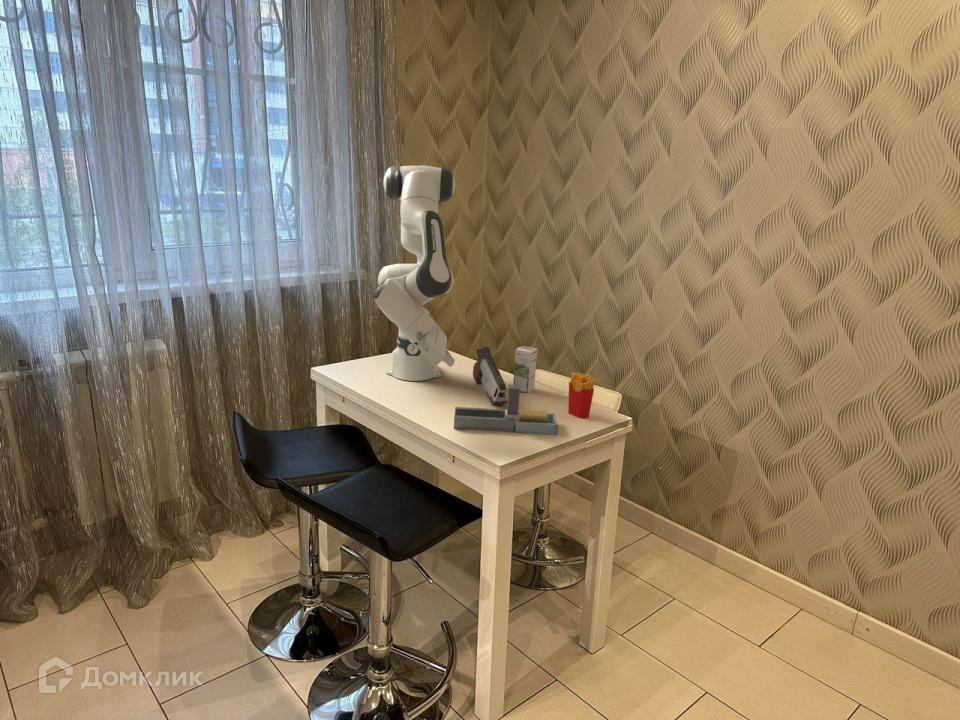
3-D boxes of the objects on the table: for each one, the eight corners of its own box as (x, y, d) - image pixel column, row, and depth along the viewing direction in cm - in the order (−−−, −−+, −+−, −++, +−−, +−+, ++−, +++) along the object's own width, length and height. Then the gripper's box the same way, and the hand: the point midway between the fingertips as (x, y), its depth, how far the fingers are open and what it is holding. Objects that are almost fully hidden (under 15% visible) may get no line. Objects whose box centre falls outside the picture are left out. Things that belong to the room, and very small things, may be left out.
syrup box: (534, 389, 234) (538, 347, 229) (527, 393, 228) (531, 351, 224) (519, 385, 236) (522, 344, 232) (512, 390, 231) (515, 348, 227)
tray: (513, 420, 204) (514, 411, 204) (554, 422, 205) (554, 413, 204) (515, 432, 196) (515, 422, 195) (557, 434, 196) (558, 424, 195)
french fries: (563, 411, 214) (567, 371, 211) (573, 408, 217) (577, 369, 213) (584, 420, 208) (589, 380, 204) (594, 418, 210) (599, 377, 206)
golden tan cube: (518, 422, 202) (518, 409, 201) (531, 423, 202) (532, 410, 201) (518, 427, 198) (519, 414, 197) (532, 428, 198) (533, 415, 197)
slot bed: (454, 417, 204) (455, 406, 203) (512, 421, 204) (512, 409, 203) (453, 428, 196) (454, 417, 195) (513, 431, 196) (514, 420, 195)
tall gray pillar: (504, 419, 202) (507, 383, 198) (518, 420, 202) (520, 384, 199) (504, 424, 198) (507, 388, 195) (518, 425, 198) (521, 389, 195)
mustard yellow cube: (531, 423, 202) (532, 410, 201) (545, 423, 202) (546, 411, 201) (532, 428, 198) (533, 415, 197) (546, 429, 198) (547, 416, 197)
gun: (489, 423, 218) (496, 384, 210) (469, 374, 240) (474, 337, 232) (504, 422, 219) (511, 384, 211) (482, 373, 241) (488, 337, 233)
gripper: (424, 331, 181) (459, 369, 185) (430, 312, 201) (462, 346, 204) (407, 346, 183) (442, 383, 186) (414, 325, 202) (446, 359, 205)
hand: (452, 363), depth 195 cm, fingers closed
